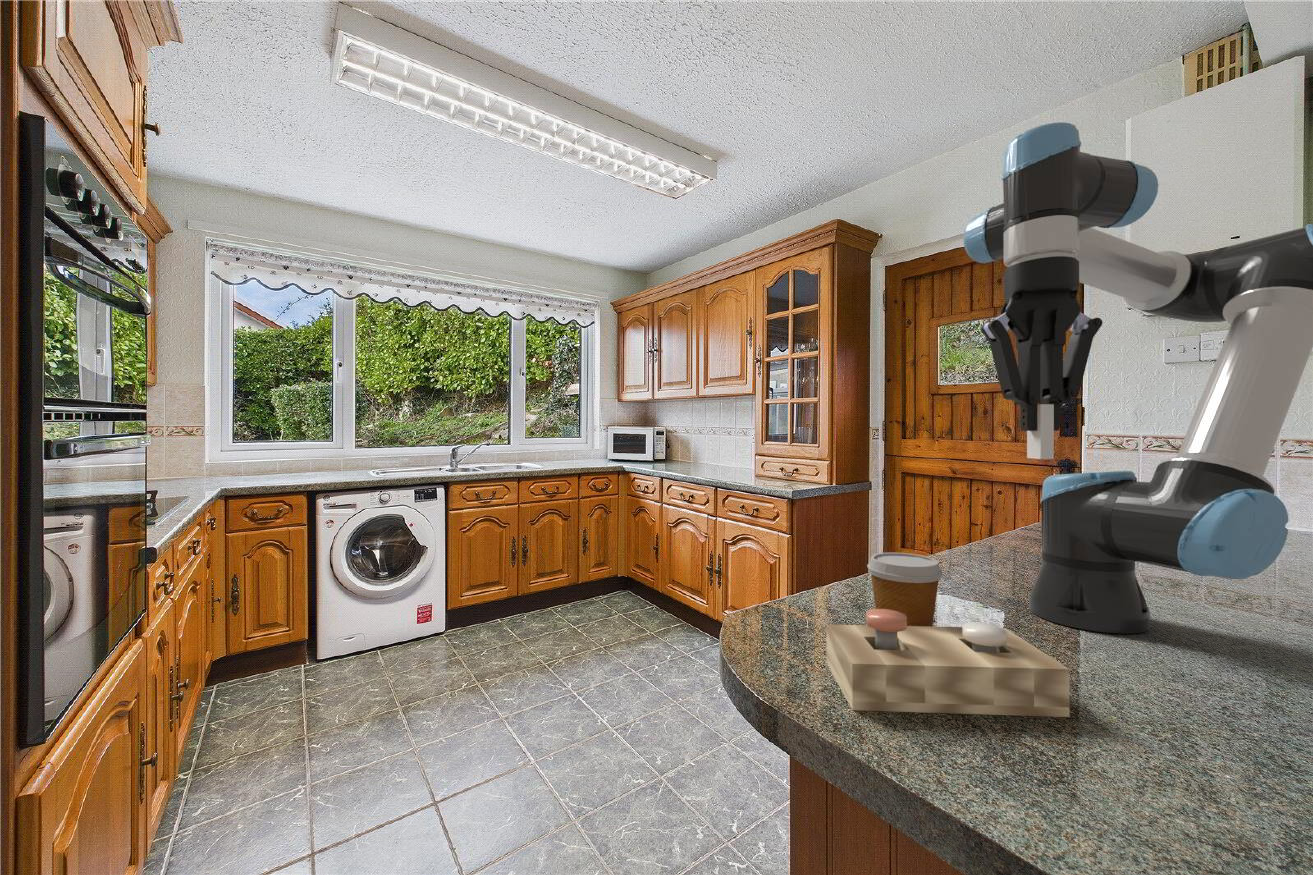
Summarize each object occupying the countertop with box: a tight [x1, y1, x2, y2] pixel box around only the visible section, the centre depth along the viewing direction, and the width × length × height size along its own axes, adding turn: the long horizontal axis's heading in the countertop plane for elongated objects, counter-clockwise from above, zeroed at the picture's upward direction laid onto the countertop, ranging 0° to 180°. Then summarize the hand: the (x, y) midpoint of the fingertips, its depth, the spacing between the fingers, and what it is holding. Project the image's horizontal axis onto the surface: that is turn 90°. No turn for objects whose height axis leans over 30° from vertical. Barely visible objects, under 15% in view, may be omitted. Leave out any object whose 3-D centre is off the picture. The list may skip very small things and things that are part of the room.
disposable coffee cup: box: [866, 552, 943, 627], centre depth 76 cm, size 10×10×12 cm
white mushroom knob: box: [961, 621, 1007, 653], centre depth 63 cm, size 4×4×5 cm
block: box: [825, 623, 1070, 718], centre depth 64 cm, size 22×12×5 cm, turn 86°
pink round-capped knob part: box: [865, 608, 907, 650], centre depth 64 cm, size 4×4×5 cm
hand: (1040, 458), depth 66 cm, fingers closed
